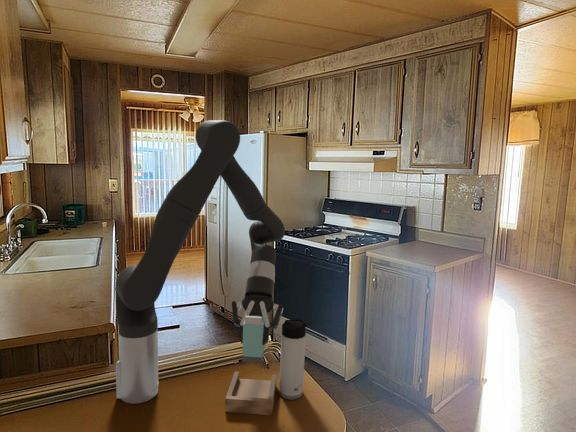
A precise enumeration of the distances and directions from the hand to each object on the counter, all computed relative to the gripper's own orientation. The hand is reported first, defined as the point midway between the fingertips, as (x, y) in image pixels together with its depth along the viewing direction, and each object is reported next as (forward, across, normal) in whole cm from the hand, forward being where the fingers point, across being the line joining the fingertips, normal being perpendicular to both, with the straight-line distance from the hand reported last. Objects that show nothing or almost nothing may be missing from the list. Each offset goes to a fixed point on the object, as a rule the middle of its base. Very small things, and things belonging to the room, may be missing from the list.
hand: (253, 342), depth 99 cm
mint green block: (+2, 0, +5) cm, 5 cm away
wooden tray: (+10, 0, +12) cm, 16 cm away
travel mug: (+8, +10, +15) cm, 19 cm away
